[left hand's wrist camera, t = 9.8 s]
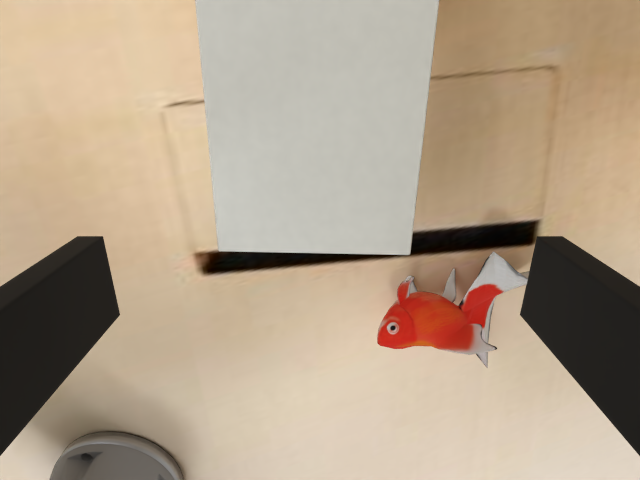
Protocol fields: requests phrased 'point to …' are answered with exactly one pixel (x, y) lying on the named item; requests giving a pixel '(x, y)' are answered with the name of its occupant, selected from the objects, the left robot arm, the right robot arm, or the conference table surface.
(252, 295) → the conference table surface
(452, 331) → the fish
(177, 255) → the conference table surface
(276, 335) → the conference table surface
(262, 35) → the box
